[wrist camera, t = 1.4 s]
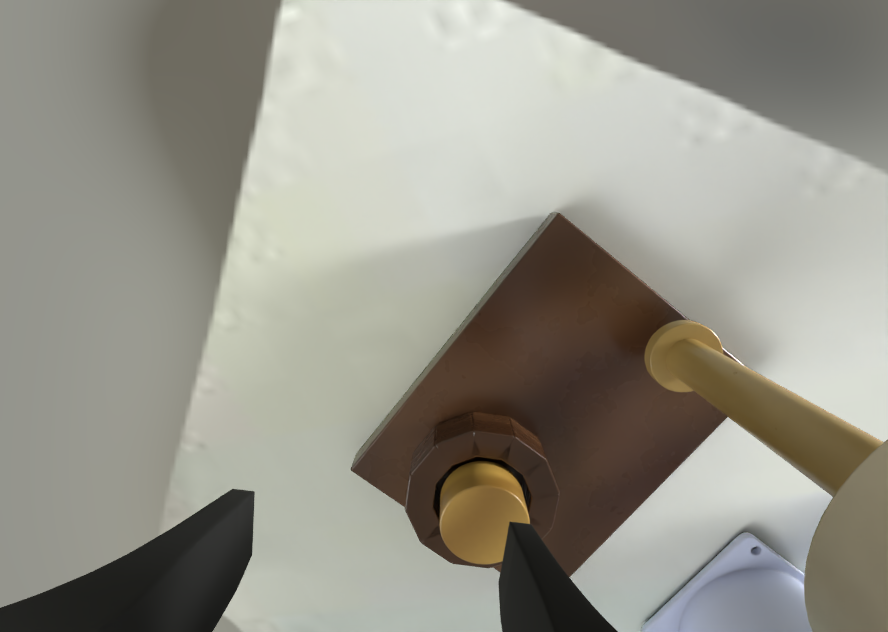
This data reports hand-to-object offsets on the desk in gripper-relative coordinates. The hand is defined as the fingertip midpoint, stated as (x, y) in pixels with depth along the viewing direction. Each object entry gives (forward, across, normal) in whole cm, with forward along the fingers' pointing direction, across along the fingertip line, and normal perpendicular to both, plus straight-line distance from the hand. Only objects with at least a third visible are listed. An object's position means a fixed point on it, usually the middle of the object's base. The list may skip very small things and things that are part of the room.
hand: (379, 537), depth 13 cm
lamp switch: (+7, -4, +3) cm, 9 cm away
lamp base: (+10, -7, 0) cm, 12 cm away
